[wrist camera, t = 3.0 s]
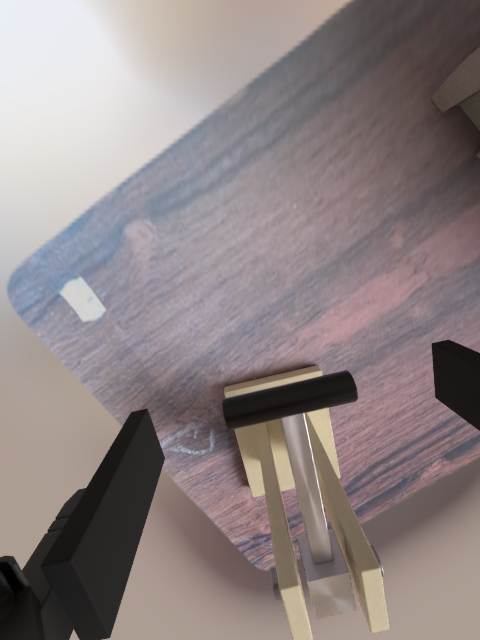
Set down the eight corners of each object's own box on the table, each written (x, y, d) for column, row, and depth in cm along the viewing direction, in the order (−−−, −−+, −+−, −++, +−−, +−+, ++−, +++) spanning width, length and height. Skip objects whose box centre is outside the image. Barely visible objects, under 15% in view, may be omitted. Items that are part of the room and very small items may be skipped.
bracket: (224, 386, 28) (219, 539, 13) (317, 364, 27) (415, 495, 13) (251, 488, 31) (272, 703, 16) (336, 469, 30) (433, 669, 16)
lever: (222, 388, 15) (221, 415, 12) (339, 361, 15) (360, 383, 12) (274, 577, 18) (281, 627, 16) (370, 556, 18) (391, 603, 15)
